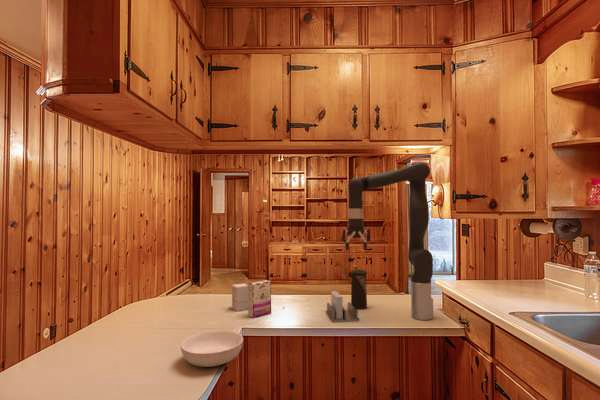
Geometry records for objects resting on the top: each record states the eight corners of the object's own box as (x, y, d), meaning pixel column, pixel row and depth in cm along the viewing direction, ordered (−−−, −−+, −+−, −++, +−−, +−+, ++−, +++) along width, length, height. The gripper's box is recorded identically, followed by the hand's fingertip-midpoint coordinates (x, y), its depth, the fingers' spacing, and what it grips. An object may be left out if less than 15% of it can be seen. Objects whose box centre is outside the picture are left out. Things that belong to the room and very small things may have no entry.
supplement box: (244, 306, 187) (244, 282, 187) (249, 309, 180) (249, 285, 181) (231, 308, 183) (231, 284, 183) (236, 311, 177) (236, 287, 177)
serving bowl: (189, 349, 128) (189, 330, 129) (245, 347, 130) (245, 329, 130) (172, 376, 108) (172, 353, 108) (239, 373, 109) (239, 351, 109)
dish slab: (337, 311, 173) (336, 291, 174) (342, 318, 161) (342, 297, 162) (331, 311, 173) (331, 291, 173) (336, 318, 161) (336, 297, 162)
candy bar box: (265, 311, 177) (265, 279, 177) (271, 313, 173) (271, 281, 173) (247, 316, 169) (247, 282, 170) (253, 318, 165) (253, 284, 166)
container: (363, 310, 178) (363, 271, 179) (347, 308, 183) (347, 270, 183) (369, 306, 185) (369, 269, 186) (354, 304, 190) (353, 268, 191)
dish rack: (350, 311, 176) (350, 301, 176) (359, 321, 160) (359, 310, 161) (325, 312, 175) (325, 302, 175) (332, 322, 159) (332, 311, 159)
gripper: (367, 217, 177) (367, 249, 176) (340, 217, 175) (340, 249, 175) (371, 217, 169) (372, 250, 169) (343, 217, 168) (343, 251, 167)
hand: (356, 250), depth 172 cm, fingers open, 8 cm apart
